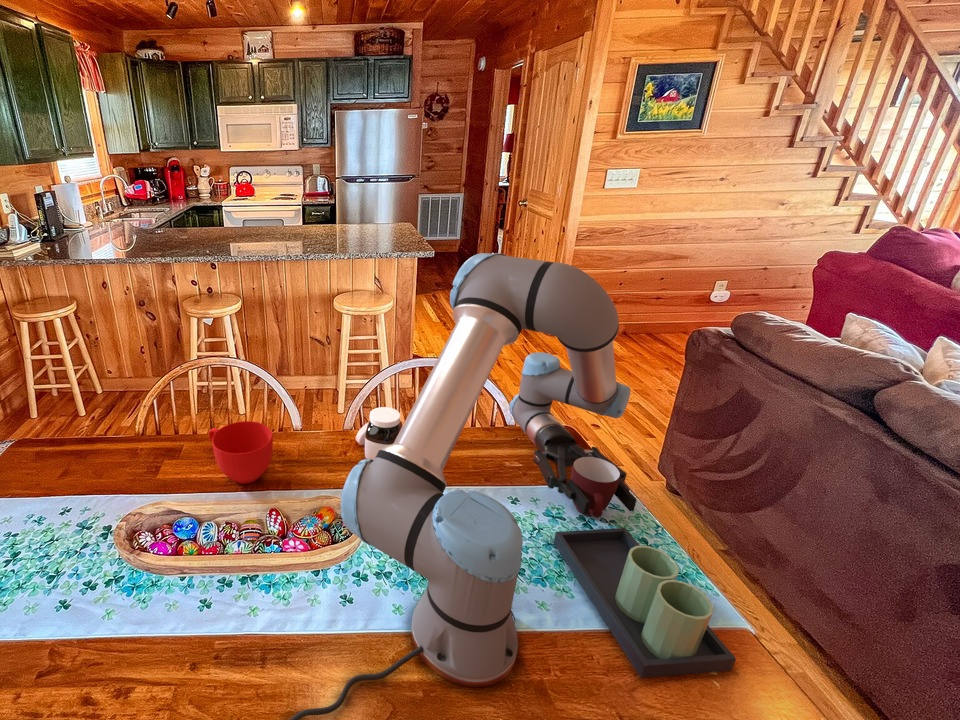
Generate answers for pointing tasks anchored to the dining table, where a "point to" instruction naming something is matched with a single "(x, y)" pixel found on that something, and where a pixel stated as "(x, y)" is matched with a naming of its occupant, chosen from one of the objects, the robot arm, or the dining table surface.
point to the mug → (595, 483)
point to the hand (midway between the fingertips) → (610, 506)
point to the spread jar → (379, 430)
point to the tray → (599, 574)
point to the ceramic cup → (242, 450)
